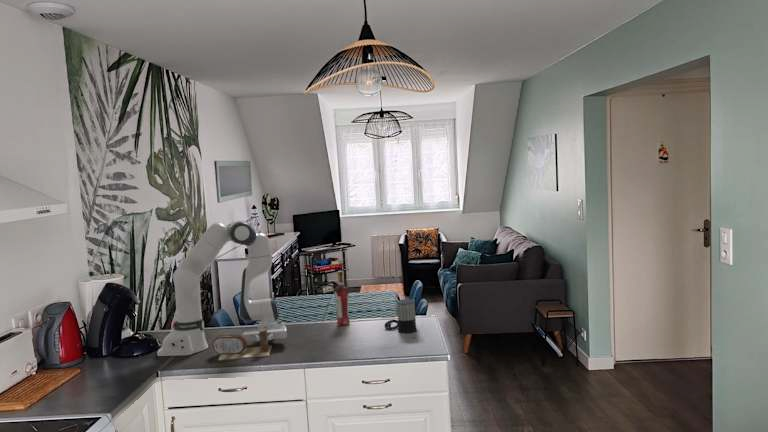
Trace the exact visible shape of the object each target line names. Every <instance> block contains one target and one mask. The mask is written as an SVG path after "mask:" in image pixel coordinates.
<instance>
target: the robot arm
mask: <svg viewBox="0 0 768 432" xmlns="http://www.w3.org/2000/svg"><path fill="white" fill-rule="evenodd" d="M229 242H232V243H235V244H237V245H241V246H246V248H247V252H248V263H247V266H245V268H243V271H242V277H241V287H240V300H239V301H240V302H239V307H238V308H239V309H238V315H239V318H240V319H241V320H242V321H243V322H245V323H250V322H253V321H259V324H258V325H257V329H256V328H255V329H247V330H245V331H244V332H242V335H241V336H242V337H243V338H244V339H245V340H246V342H260V334H259V331H260V329H267V341H268V342H269V341H271V340H277V339H280V340H281V339H286V338H288V329H287V327H286V325H285V322H278V319H279V317H280V311H279V305H278V303H277V301H276V300H275V299H274V298H272V297H271V298H262V299H256V300H255V299H253V300H252V299H251V300H250V295H251V294H250V293H251V283H252V282H253V281H254V280H255V279H257V278H258V277H261V276H263V275H265V274H266V273H267V272H268V271H269V270H270V269H271V268H272V266H273V254H272V248H271V247H272V246H271V243H270V240H269V237H268V235H267V234H266V233H261V232H256V231H255V230H254V229H253V227H252V226H251V225H250V224H249V223H248V222H246V221H244V220H237V221H234V222H231V223H230V224H227V225H225V224H223V223H221V222H213V223H212V224H211V225H210V226H209V227H208V228H207V229H206V230H205V232H203V233H202V235H201V236H200V238H199V239H198V240H197V242H196V244H195V245H194V246H193V248H192V249H191V251H190V252H189V253H188V254H187V255H186V257H184V259H183V261H181V263H180V264H179V265H178V266H177V268H176V269H175V271H174V272H173V275H172V281H173V284H174V294H175V296H174V297H175V310H176V319H175V320H174V322H173V323H172V328H173V330H171V332H170V333H168V335H166V336H165V337H164V338H163V340H162V345H161V348H159V349H158V350H157V353H156V354H157V356H158V357H167V356H168V357H171V356H172V357H174V356H178V357H179V356H190V355H193V354H195V353H200V352H202V351H205V350H207V349H208V348H209V345H208V341H207V339H206V335H205V323H204V322H205V321H204V318H203V314H202V303H201V301H202V300H201V280H200V279H201V276H203V274H204V273H205V272H206V270H207V269H208V268H209V267H210V266H211V265H212V264H213V262H214V261H215V259H216V257H218V255H219V253H220V252H221V250H222V249H223V248H224V246H225V245H226V244H227V243H229Z"/></svg>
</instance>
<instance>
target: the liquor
mask: <svg viewBox="0 0 768 432" xmlns="http://www.w3.org/2000/svg"><path fill="white" fill-rule="evenodd" d="M336 274H337V286H336V287H335V288H333V292H334V300H335V308H336V318H337V319H336V324H337V325H339V326H340V327H341V326H342V327H344V326H347V325H349V323H350V322H351V321H350V314H349V312H350V310H349V287H347V286H345V285H344V279H343V275H344V274H343V270H338V271H337V273H336Z"/></svg>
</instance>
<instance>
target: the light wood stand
mask: <svg viewBox="0 0 768 432" xmlns="http://www.w3.org/2000/svg"><path fill="white" fill-rule="evenodd" d="M259 334H260V341H259V343H260V346H253V347H252V346H250V347H246V348H245V350H244V351H243V352H241V353H239V354H219V357H218V359H217V361H226V360H237V359H240V360H241V359H248V358H249V359H250V358H260V357H269V356H270V354H271V350H272V345H271V344H270V345H269V341H267V329H260V331H259Z"/></svg>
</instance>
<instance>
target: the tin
mask: <svg viewBox="0 0 768 432" xmlns="http://www.w3.org/2000/svg"><path fill="white" fill-rule="evenodd" d="M212 348H213V350H214V352H215V353H216V354H219V355H221V354H239V353H241V352H243V351H244V350H245V348H247V341H246V340H245V339H244V338H243V336H242V335H240V334H219V335H218V336H216V338H214V340H213V341H212Z"/></svg>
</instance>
